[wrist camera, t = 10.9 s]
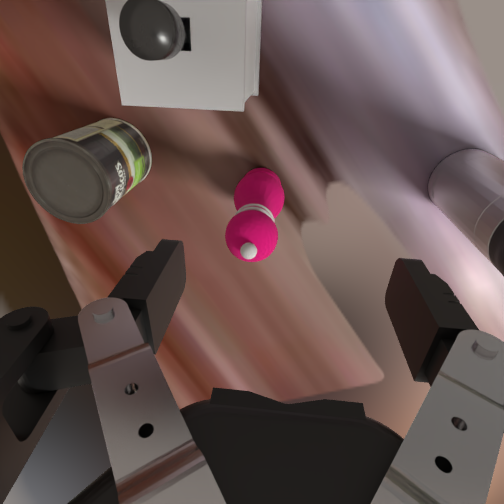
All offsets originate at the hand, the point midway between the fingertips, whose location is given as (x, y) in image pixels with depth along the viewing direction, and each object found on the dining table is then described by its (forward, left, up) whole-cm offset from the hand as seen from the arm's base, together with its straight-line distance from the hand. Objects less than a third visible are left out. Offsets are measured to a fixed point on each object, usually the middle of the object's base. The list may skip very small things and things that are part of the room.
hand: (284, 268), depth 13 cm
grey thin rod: (+10, -8, -37) cm, 39 cm away
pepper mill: (+3, +11, -38) cm, 40 cm away
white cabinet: (+10, -10, -38) cm, 41 cm away
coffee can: (+25, +7, -38) cm, 46 cm away
